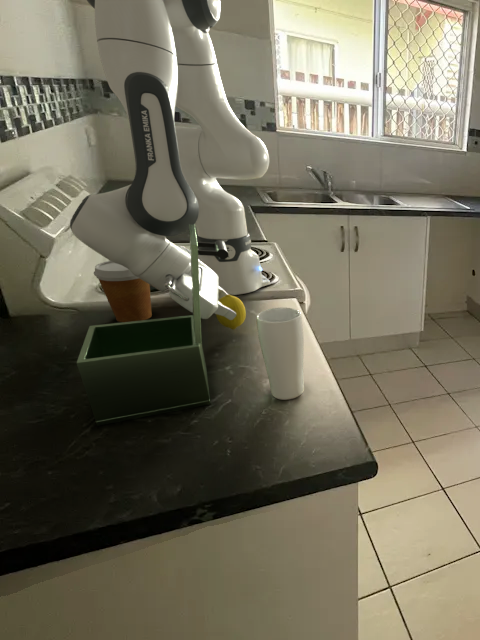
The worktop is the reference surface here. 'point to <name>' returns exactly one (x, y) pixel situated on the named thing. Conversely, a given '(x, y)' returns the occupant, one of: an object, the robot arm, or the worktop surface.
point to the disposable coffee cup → (124, 292)
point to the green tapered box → (143, 369)
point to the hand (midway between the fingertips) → (234, 310)
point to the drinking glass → (282, 350)
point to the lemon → (235, 305)
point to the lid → (194, 252)
